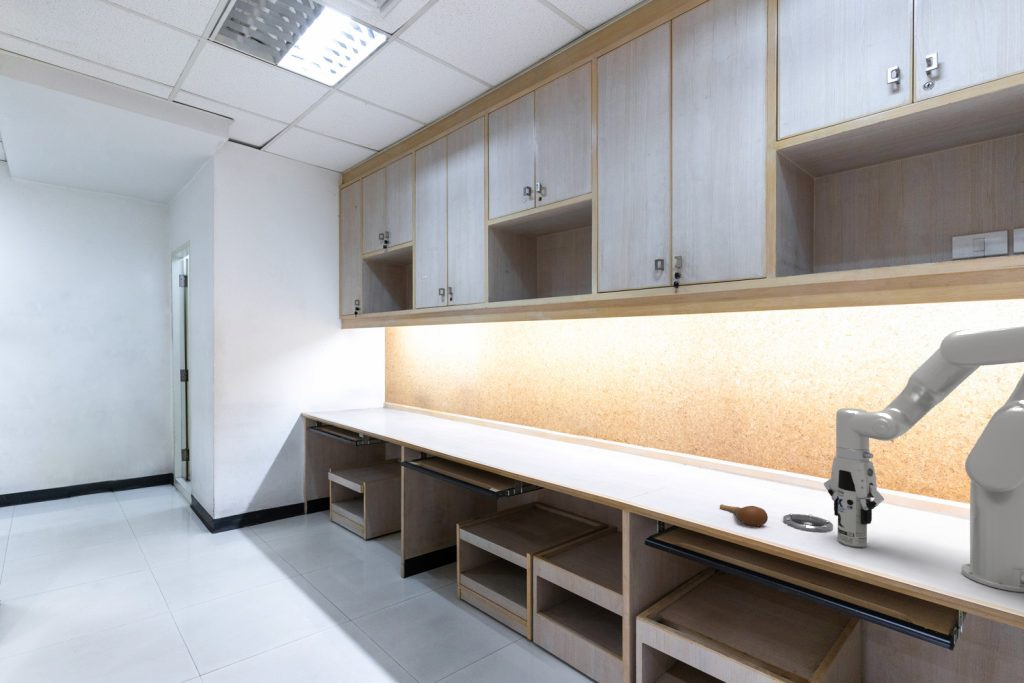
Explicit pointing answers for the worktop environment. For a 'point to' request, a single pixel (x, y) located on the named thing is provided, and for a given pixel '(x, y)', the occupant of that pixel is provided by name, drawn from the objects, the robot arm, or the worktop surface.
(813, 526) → the flange
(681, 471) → the worktop surface
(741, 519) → the pipe
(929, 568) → the worktop surface
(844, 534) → the spray can
